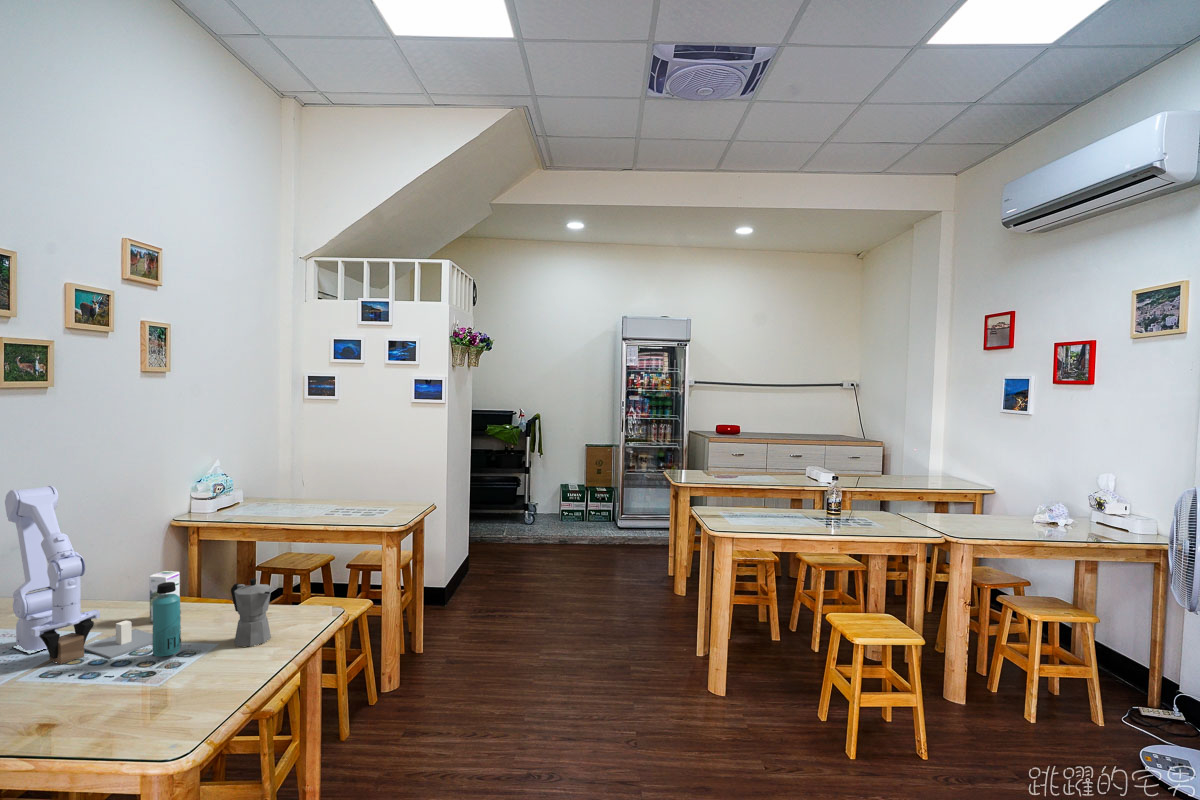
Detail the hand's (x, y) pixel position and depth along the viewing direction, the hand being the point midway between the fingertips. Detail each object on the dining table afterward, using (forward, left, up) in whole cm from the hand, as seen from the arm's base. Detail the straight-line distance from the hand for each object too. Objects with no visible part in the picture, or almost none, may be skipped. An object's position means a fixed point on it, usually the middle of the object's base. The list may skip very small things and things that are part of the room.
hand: (66, 653), depth 165 cm
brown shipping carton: (0, 0, -1) cm, 1 cm away
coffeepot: (+32, +29, -2) cm, 43 cm away
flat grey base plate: (+3, +12, -2) cm, 12 cm away
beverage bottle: (+22, +12, -2) cm, 25 cm away
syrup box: (-5, +28, -2) cm, 28 cm away
